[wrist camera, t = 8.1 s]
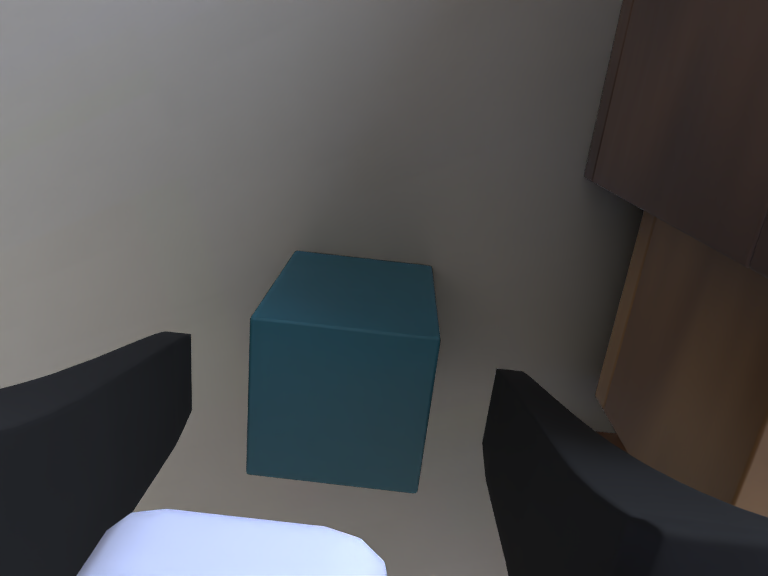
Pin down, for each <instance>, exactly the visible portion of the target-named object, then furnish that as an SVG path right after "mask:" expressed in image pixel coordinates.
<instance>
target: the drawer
mask: <svg viewBox="0 0 768 576" xmlns="http://www.w3.org/2000/svg"><path fill="white" fill-rule="evenodd" d="M595 397H596V399H597V400H598V402H599V404H600V406H601V407H602V409H603V410H604V413H605V414H606V416H607V418H608V420H609V421H610V423H611V425H612V426H613V428H614V430H615V432H616V433H617V434H616V433H608V432H599V431H596V432H597V433H598V434H600V435H601V436H602V437H604V438H605V439H607V440H608V441H609V442H611V443H612V444H614V445H615V446H617V447H619V448H620V449H622V450H623V451H625V452H627V453H628V454H630V455H631V456H633V457H634V458H636V459H638V460H639V461H641V462H643V463H645V464H646V465H648V466H650V467H652V468H653V469H655V470H657V471H659V472H661V473H663V474H665V475H667V476H669V477H671V478H673V479H675V480H677V481H679V482H681V483H683V484H685V485H687V486H689V487H691V488H694V489H696V490H698V491H700V492H702V493H705V494H707V495H709V496H712V497H714V498H717V499H719V500H721V501H724V502H726V503H729V504H731V505H734V506H736V507H739V508H742V509H744V510H747V511H750V512H753V513H756V514H759V515H762V516H765V517H768V279H767V278H765V277H764V276H762V275H760V274H758V273H756V272H755V271H753V270H751V268H746V267H745V266H743V265H741V264H739V263H737V262H736V261H734V260H732V259H730V258H728V257H727V256H725V255H723V254H721V253H719V252H718V251H716V250H714V249H712V248H710V247H709V246H707V245H705V244H703V243H701V242H700V241H698V240H696V239H694V238H692V237H691V236H689V235H687V234H685V233H683V232H682V231H680V230H678V229H676V228H675V227H673V226H671V225H669V224H667V223H666V222H664V221H662V220H660V219H658V218H657V217H655V216H653V215H651V214H649V213H648V212H646V211H644V212H643V216H642V220H641V224H640V228H639V231H638V235H637V239H636V243H635V246H634V250H633V254H632V258H631V261H630V265H629V269H628V273H627V277H626V280H625V284H624V288H623V292H622V295H621V299H620V303H619V307H618V310H617V314H616V318H615V322H614V326H613V329H612V333H611V337H610V341H609V344H608V348H607V352H606V356H605V359H604V363H603V367H602V371H601V374H600V378H599V382H598V386H597V390H596V393H595Z"/></svg>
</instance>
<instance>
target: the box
mask: <svg viewBox="0 0 768 576" xmlns="http://www.w3.org/2000/svg"><path fill="white" fill-rule="evenodd" d="M440 341H441V339H440V331H439V322H438V314H437V305H436V297H435V288H434V280H433V271H432V267H431V266H427V265H419V264H410V263H401V262H392V261H383V260H374V259H365V258H357V257H348V256H339V255H330V254H321V253H312V252H303V251H295V252H294V254H293V255H292V257H291V258H290V260H289V261H288V263H287V264H286V266H285V267H284V269H283V270H282V272H281V273H280V275H279V276H278V278H277V279H276V281H275V282H274V283H273V285H272V286H271V288H270V289H269V291H268V292H267V294H266V295H265V297H264V298H263V300H262V301H261V303H260V304H259V306H258V307H257V309H256V310H255V312H254V313H253V315H252V316H251V318H250V344H249V383H248V422H247V461H246V472H247V474H249V475H258V476H267V477H275V478H284V479H293V480H301V481H310V482H319V483H328V484H336V485H345V486H354V487H363V488H371V489H380V490H389V491H397V492H406V493H416V492H417V491H418V485H419V478H420V472H421V465H422V459H423V452H424V446H425V439H426V433H427V426H428V420H429V413H430V407H431V400H432V393H433V387H434V380H435V374H436V367H437V361H438V354H439V348H440Z"/></svg>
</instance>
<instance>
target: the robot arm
mask: <svg viewBox="0 0 768 576" xmlns="http://www.w3.org/2000/svg"><path fill="white" fill-rule="evenodd" d="M191 411H192V383H191V334H184V333H175V332H166V331H165V332H161V333H157V334H154V335H151V336H149V337H146V338H144V339H141V340H138V341H136V342H134V343H131V344H129V345H126V346H124V347H121V348H119V349H117V350H114V351H112V352H109V353H107V354H104V355H102V356H100V357H97V358H95V359H92V360H89V361H86V362H84V363H81V364H78V365H76V366H73V367H70V368H67V369H65V370H62V371H59V372H57V373H54V374H51V375H48V376H44V377H41V378H38V379H35V380H31V381H28V382H24V383H21V384H17V385H13V386H10V387H6V388H2V389H0V576H387V572H386V567H385V562H384V561H383V560H382V559H381V558H380V557H379V556H378V555H377V554H376V553H375V552H374V551H373V550H372V549H371V548H370V547H369V546H368V545H367V544H366V543H365V542H364V541H363V540H362V539H361V538H358V537H355V536H352V535H349V534H346V533H343V532H340V531H337V530H334V529H331V528H328V527H324V526H316V525H307V524H298V523H289V522H280V521H271V520H262V519H253V518H244V517H236V516H227V515H218V514H209V513H200V512H191V511H182V510H173V509H160V510H151V511H141V512H133V510H134V509H135V507H136V506H137V504H138V503H139V501H140V500H141V498H142V497H143V495H144V494H145V492H146V490H147V489H148V487H149V486H150V484H151V483H152V481H153V480H154V478H155V477H156V475H157V474H158V472H159V471H160V469H161V468H162V466H163V464H164V463H165V461H166V460H167V458H168V457H169V455H170V454H171V452H172V450H173V449H174V447H175V446H176V444H177V442H178V440H179V437H180V435H181V433H182V431H183V429H184V427H185V424H186V422H187V420H188V418H189V415H190V413H191ZM482 444H483V456H484V467H485V476H486V482H487V487H488V491H489V495H490V500H491V504H492V508H493V512H494V516H495V520H496V524H497V528H498V532H499V537H500V541H501V545H502V549H503V553H504V557H505V561H506V566H507V571H508V576H768V517H765V516H762V515H759V514H756V513H753V512H750V511H747V510H744V509H742V508H739V507H736V506H734V505H731V504H729V503H726V502H724V501H721V500H719V499H717V498H714V497H712V496H709V495H707V494H705V493H702V492H700V491H698V490H696V489H694V488H691V487H689V486H687V485H685V484H683V483H681V482H679V481H677V480H675V479H673V478H671V477H669V476H667V475H665V474H663V473H661V472H659V471H657V470H655V469H653V468H652V467H650V466H648V465H646V464H645V463H643V462H641V461H639V460H638V459H636V458H634V457H633V456H631V455H630V454H628V453H627V452H625V451H623V450H622V449H620V448H619V447H617V446H615V445H614V444H612V443H611V442H609V441H608V440H607V439H605V438H604V437H602V436H601V435H600V434H598V433H597V432H596V431H594V430H593V429H592V428H590V427H589V426H588V425H586V424H585V423H584V422H582V421H581V420H580V419H579V418H577V417H576V416H575V415H574V414H572V413H571V412H570V411H569V410H568V409H566V408H565V407H564V406H563V405H562V404H561V403H559V402H558V401H557V400H556V399H555V398H554V397H553V396H551V395H550V394H549V393H548V392H547V391H546V390H545V389H544V388H542V387H541V386H540V385H539V384H538V383H537V382H536V381H534V380H533V379H532V378H531V377H530V376H528V375H527V374H526V373H524V372H523V371H514V370H505V369H496V375H495V380H494V385H493V390H492V395H491V400H490V406H489V411H488V416H487V421H486V426H485V431H484V436H483V442H482Z"/></svg>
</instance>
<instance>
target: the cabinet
mask: <svg viewBox="0 0 768 576" xmlns="http://www.w3.org/2000/svg"><path fill="white" fill-rule="evenodd" d="M584 177H585V178H587V179H588V180H590V181H592V182H594V183H595V184H597V185H599V186H601V187H603V188H604V189H606V190H608V191H610V192H612V193H613V194H615V195H617V196H619V197H621V198H622V199H624V200H626V201H628V202H630V203H631V204H633V205H635V206H637V207H639V208H640V209H642V210H644V211H646V212H648V213H649V214H651V215H653V216H655V217H657V218H658V219H660V220H662V221H664V222H666V223H667V224H669V225H671V226H673V227H675V228H676V229H678V230H680V231H682V232H683V233H685V234H687V235H689V236H691V237H692V238H694V239H696V240H698V241H700V242H701V243H703V244H705V245H707V246H709V247H710V248H712V249H714V250H716V251H718V252H719V253H721V254H723V255H725V256H727V257H728V258H730V259H732V260H734V261H736V262H737V263H739V264H741V265H743V266H745V267H746V268H751V270H753V271H755V272H756V273H758V274H760V275H762V276H764V277H765V278H767V279H768V0H623V3H622V8H621V12H620V17H619V21H618V26H617V30H616V35H615V39H614V44H613V48H612V52H611V57H610V61H609V66H608V70H607V75H606V79H605V84H604V88H603V93H602V97H601V102H600V106H599V111H598V115H597V120H596V124H595V128H594V133H593V137H592V142H591V146H590V151H589V155H588V160H587V164H586V169H585V173H584Z"/></svg>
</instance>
